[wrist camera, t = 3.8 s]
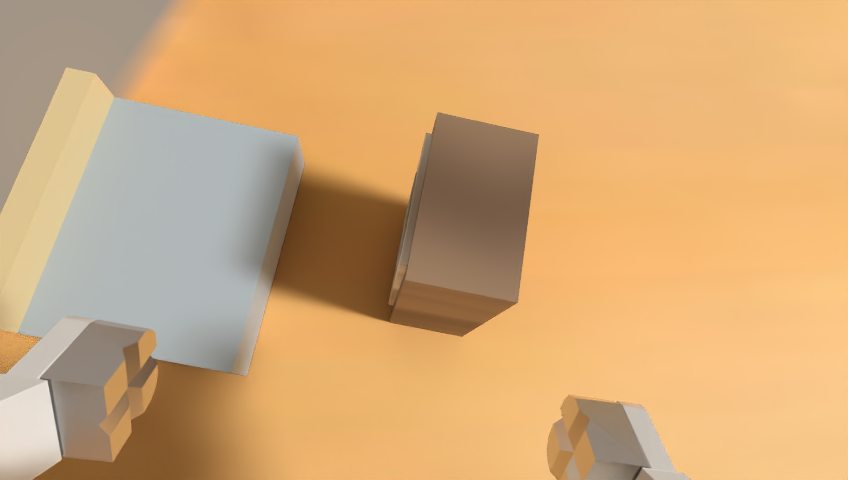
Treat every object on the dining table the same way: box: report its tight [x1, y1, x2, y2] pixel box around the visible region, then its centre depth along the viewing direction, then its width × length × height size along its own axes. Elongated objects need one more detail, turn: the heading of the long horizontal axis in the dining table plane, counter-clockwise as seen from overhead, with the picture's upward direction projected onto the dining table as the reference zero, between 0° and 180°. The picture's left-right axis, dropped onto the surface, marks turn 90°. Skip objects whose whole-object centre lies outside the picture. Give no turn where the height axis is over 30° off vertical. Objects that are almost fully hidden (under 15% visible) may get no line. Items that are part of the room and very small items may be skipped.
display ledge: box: [0, 68, 305, 376], centre depth 19 cm, size 9×8×4 cm
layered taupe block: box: [388, 113, 539, 336], centre depth 18 cm, size 5×3×8 cm, turn 170°
